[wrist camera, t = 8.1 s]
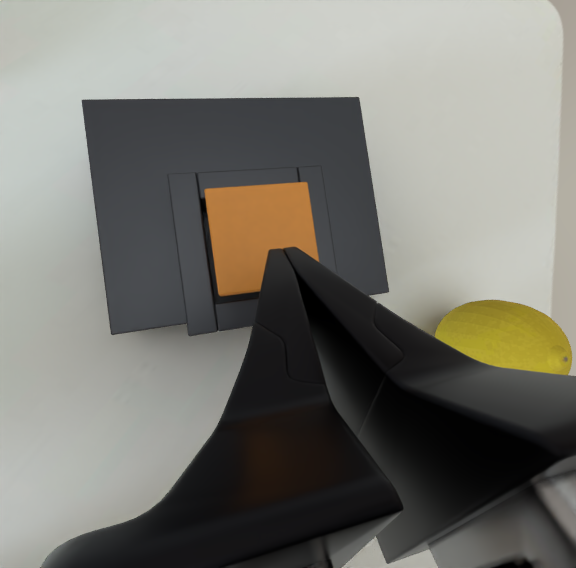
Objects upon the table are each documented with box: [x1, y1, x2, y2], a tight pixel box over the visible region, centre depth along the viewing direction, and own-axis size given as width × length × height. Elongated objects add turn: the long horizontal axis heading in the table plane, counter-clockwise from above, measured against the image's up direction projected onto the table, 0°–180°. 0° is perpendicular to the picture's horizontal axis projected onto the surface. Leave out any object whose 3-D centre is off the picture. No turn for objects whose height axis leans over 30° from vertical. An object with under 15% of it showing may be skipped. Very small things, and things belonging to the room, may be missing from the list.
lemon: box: [435, 300, 572, 375], centre depth 18 cm, size 6×6×8 cm
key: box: [204, 182, 319, 297], centre depth 13 cm, size 4×4×2 cm
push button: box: [82, 97, 389, 336], centre depth 17 cm, size 12×14×6 cm
